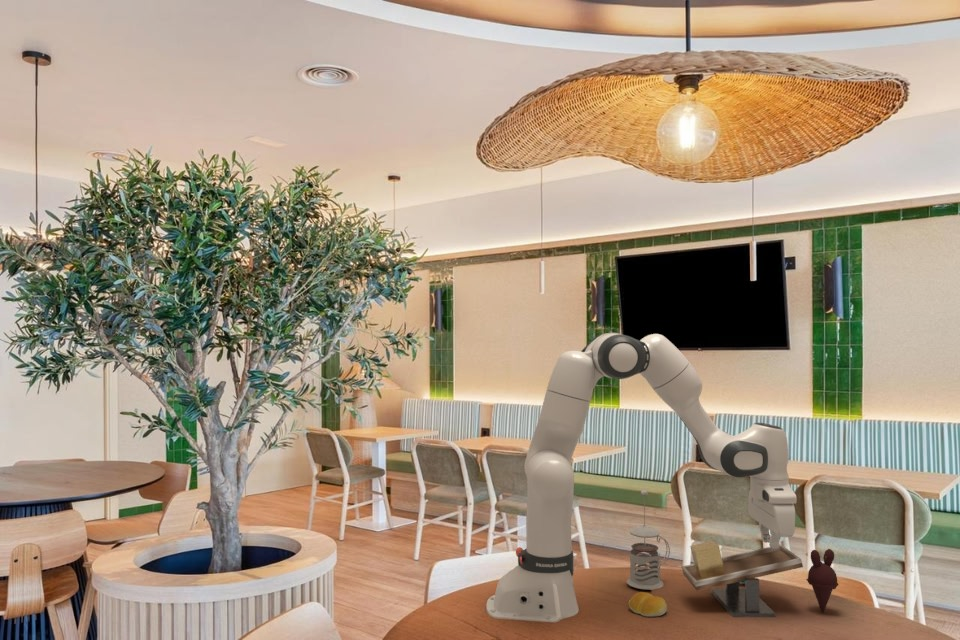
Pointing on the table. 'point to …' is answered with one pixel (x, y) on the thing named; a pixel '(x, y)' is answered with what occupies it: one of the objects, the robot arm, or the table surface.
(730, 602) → the pivot stand
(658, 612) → the bread roll
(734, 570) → the balance beam
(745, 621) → the table surface
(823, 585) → the icecream
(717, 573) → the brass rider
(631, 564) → the french press
